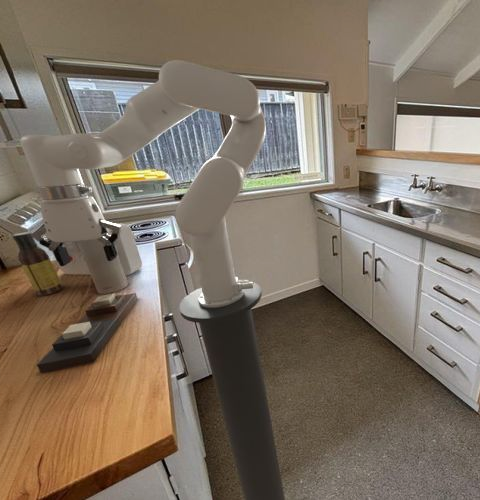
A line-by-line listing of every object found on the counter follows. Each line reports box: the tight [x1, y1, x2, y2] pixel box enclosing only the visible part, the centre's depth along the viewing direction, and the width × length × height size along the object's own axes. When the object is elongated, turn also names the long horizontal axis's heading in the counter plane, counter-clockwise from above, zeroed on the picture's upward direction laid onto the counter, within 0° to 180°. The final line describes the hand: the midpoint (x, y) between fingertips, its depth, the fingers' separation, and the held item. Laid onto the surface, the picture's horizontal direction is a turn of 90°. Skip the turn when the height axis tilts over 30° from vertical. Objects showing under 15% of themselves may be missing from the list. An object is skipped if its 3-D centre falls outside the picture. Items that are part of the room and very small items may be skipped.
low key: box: [92, 293, 116, 307], centre depth 77 cm, size 4×4×2 cm
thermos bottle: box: [78, 219, 129, 295], centre depth 88 cm, size 8×8×28 cm
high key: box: [61, 322, 92, 340], centre depth 64 cm, size 4×4×2 cm
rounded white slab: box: [44, 223, 143, 276], centre depth 101 cm, size 29×8×18 cm, turn 85°
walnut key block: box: [75, 292, 138, 326], centre depth 77 cm, size 9×14×4 cm, turn 19°
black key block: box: [36, 318, 120, 374], centre depth 65 cm, size 9×14×4 cm, turn 19°
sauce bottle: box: [11, 231, 63, 296], centre depth 88 cm, size 6×6×20 cm
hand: (89, 261), depth 71 cm, fingers open, 9 cm apart
